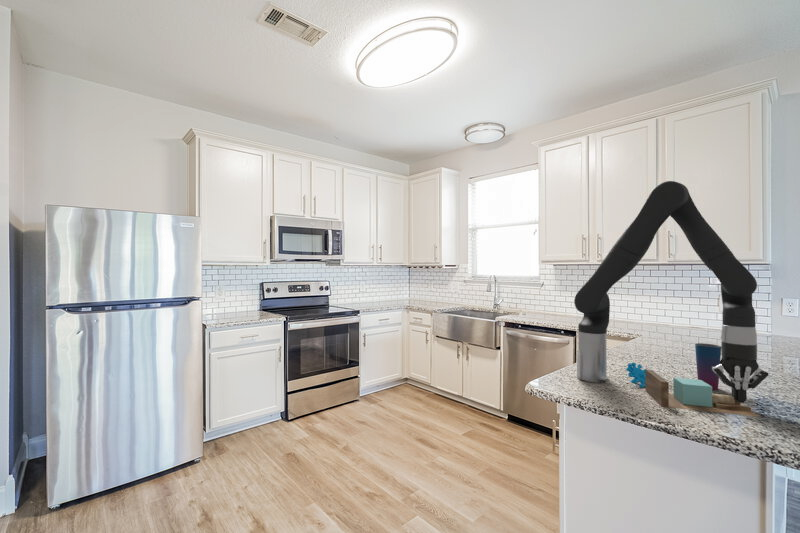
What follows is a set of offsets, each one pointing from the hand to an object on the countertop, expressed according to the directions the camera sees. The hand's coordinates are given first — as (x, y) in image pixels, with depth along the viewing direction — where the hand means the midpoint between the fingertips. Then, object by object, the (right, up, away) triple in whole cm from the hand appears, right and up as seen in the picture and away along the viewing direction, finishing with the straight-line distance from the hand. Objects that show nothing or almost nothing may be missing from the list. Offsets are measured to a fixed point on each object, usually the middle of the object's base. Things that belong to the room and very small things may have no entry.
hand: (739, 401), depth 105 cm
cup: (+6, -3, +18) cm, 19 cm away
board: (-9, -2, +3) cm, 10 cm away
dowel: (-5, -2, +2) cm, 6 cm away
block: (-11, -1, +3) cm, 11 cm away
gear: (-14, -3, +21) cm, 25 cm away
